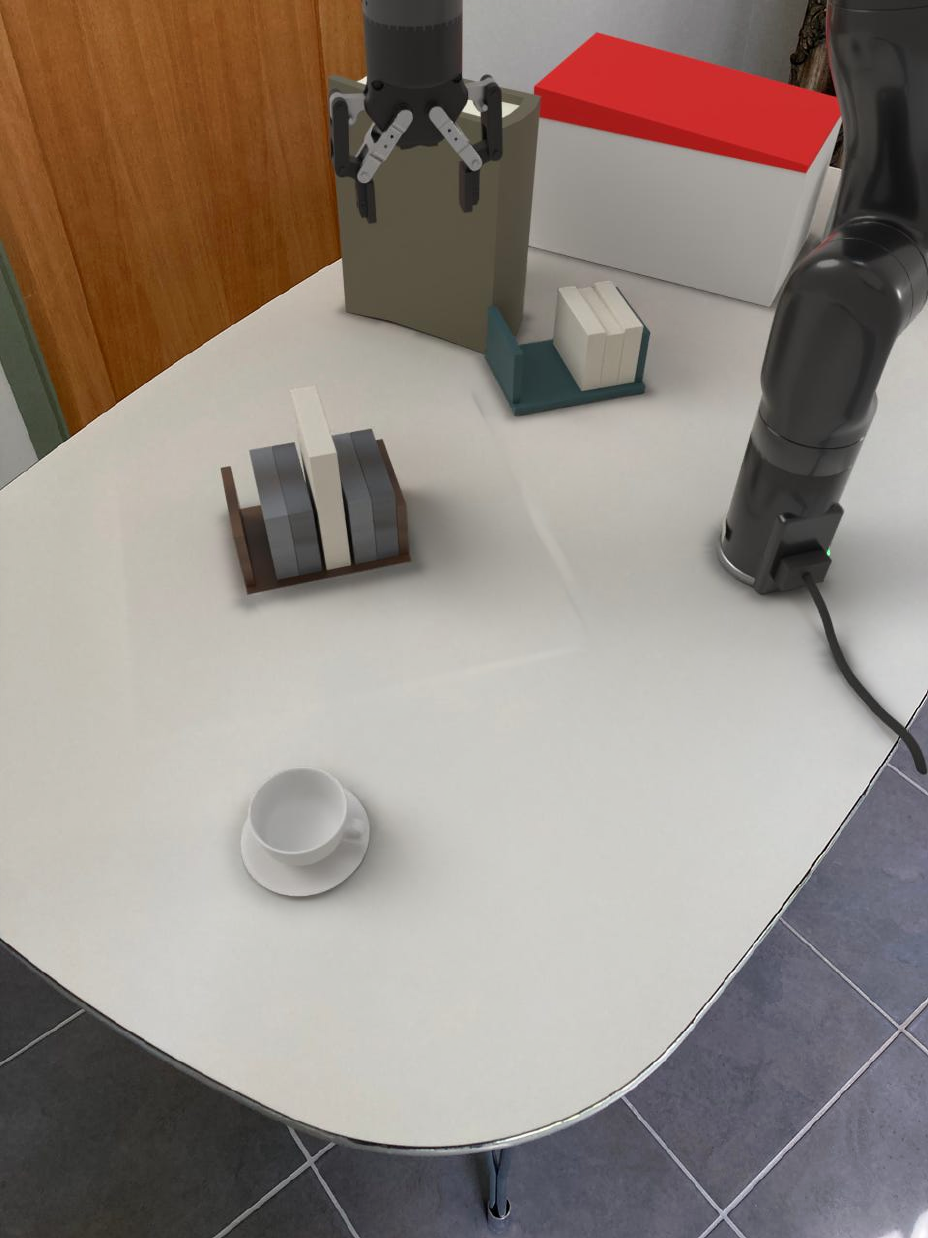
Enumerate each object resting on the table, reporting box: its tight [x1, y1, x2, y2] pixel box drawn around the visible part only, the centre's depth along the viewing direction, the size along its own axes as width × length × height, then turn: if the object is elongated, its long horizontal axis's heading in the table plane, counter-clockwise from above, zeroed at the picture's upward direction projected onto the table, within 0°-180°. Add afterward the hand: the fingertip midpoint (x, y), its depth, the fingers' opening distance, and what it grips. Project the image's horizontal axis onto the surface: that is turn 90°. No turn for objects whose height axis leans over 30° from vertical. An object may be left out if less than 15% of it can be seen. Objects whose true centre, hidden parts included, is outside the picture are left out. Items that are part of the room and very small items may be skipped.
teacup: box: [240, 765, 371, 897], centre depth 73 cm, size 10×10×5 cm
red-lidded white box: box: [528, 31, 843, 308], centre depth 127 cm, size 21×35×21 cm, turn 63°
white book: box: [290, 384, 351, 570], centre depth 90 cm, size 10×2×14 cm, turn 16°
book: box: [327, 73, 541, 355], centre depth 112 cm, size 22×9×28 cm, turn 62°
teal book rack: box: [484, 280, 651, 417], centre depth 111 cm, size 12×16×8 cm
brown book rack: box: [220, 428, 413, 595], centre depth 92 cm, size 12×16×9 cm
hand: (418, 214), depth 84 cm, fingers open, 8 cm apart
